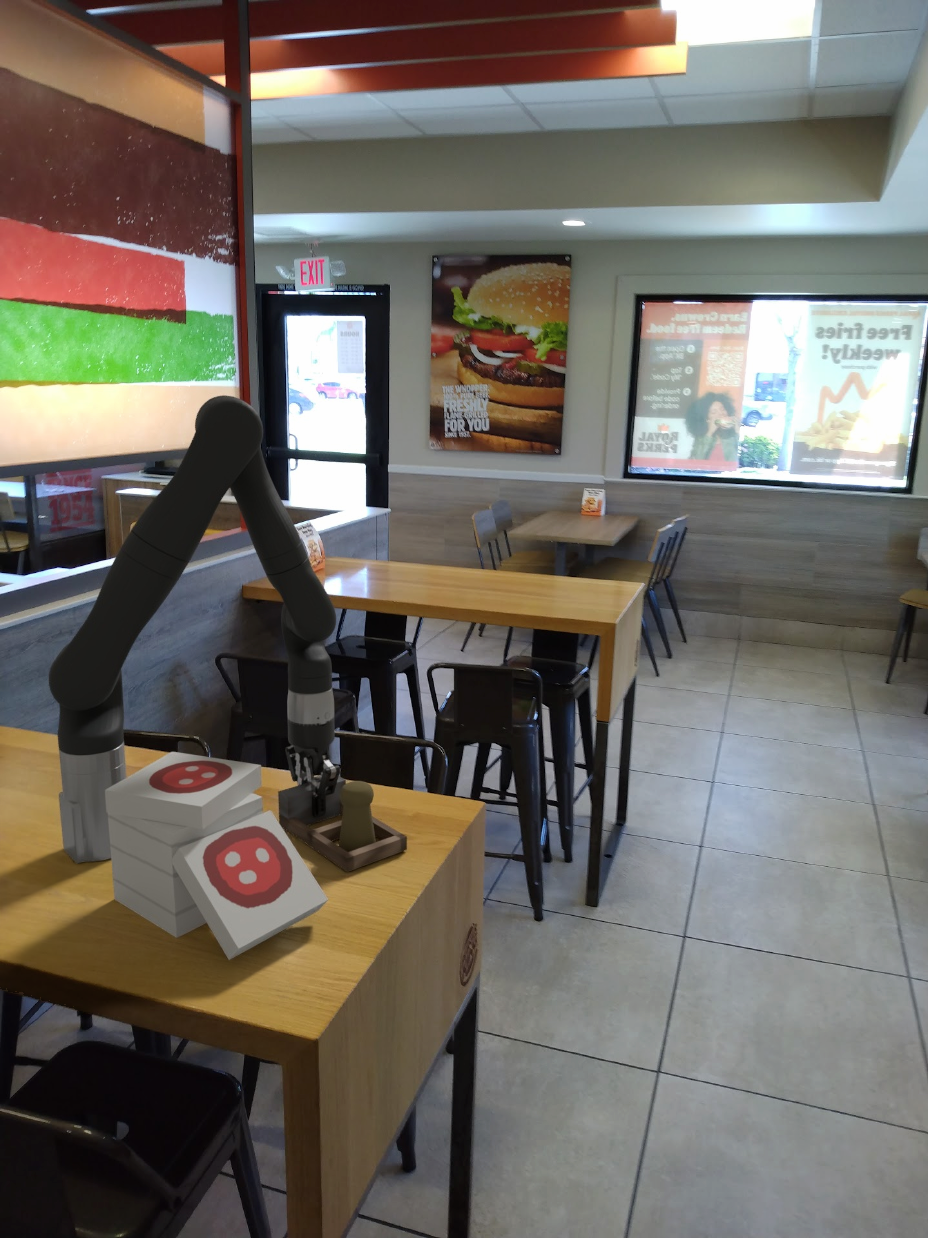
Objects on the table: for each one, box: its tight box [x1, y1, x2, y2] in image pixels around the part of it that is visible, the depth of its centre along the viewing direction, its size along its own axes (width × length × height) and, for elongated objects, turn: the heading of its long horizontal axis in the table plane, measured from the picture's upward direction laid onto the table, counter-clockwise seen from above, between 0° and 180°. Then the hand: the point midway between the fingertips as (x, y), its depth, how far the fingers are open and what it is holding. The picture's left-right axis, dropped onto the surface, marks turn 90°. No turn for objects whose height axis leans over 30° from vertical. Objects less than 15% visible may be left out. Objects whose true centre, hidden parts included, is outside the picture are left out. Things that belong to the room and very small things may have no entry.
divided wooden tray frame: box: [277, 775, 408, 873], centre depth 148 cm, size 11×20×6 cm, turn 41°
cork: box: [338, 780, 377, 852], centre depth 144 cm, size 6×6×11 cm
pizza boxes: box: [105, 751, 329, 961], centre depth 126 cm, size 19×30×18 cm, turn 51°
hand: (313, 811), depth 154 cm, fingers closed on divided wooden tray frame, 3 cm apart
